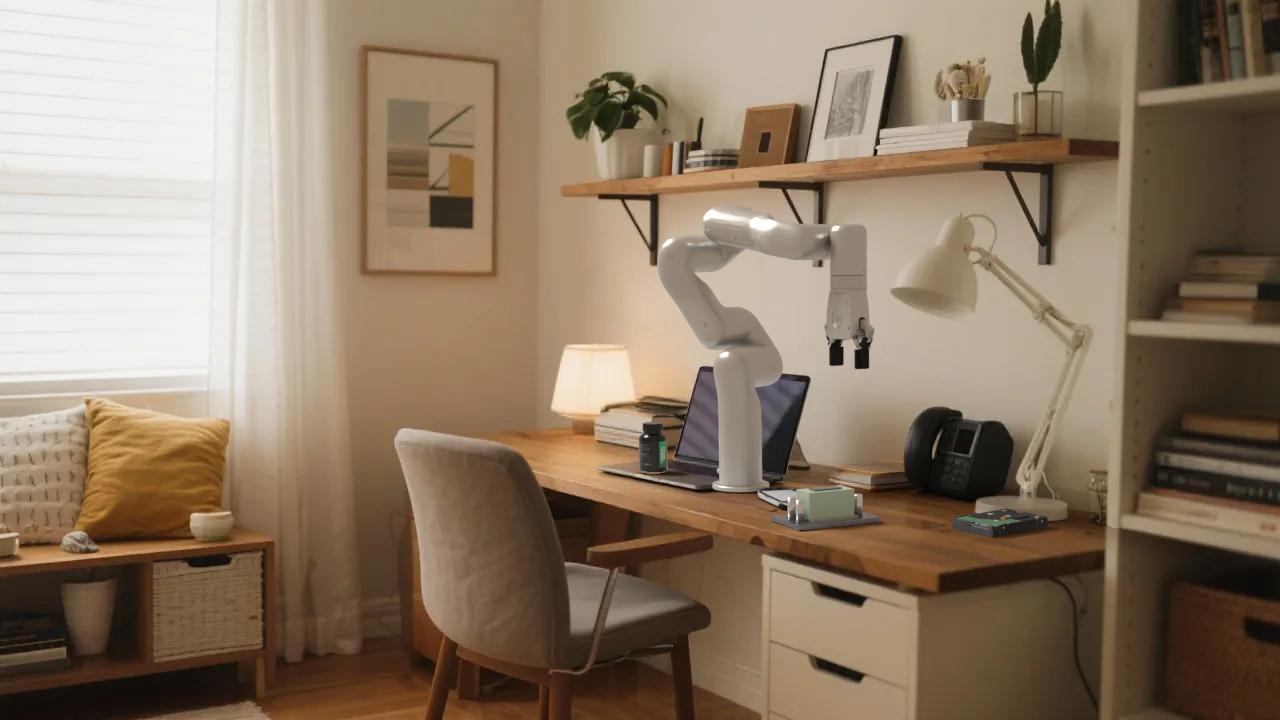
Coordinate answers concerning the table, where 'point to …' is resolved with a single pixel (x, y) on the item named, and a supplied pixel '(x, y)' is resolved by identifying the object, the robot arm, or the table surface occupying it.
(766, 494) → the gaming console
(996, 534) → the disk drive
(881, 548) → the table surface
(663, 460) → the supplement bottle
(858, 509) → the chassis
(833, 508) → the block
